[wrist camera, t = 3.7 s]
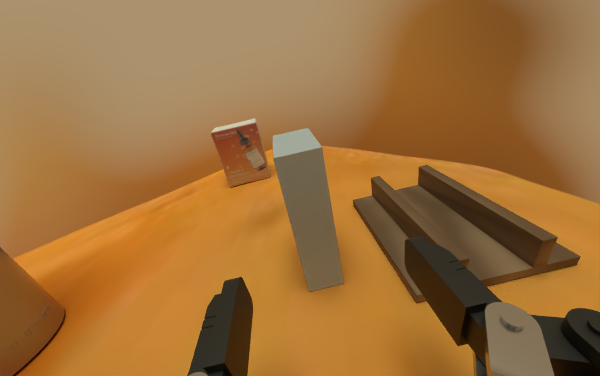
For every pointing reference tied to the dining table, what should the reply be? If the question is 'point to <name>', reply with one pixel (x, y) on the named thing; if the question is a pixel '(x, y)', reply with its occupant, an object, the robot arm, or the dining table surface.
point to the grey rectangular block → (308, 206)
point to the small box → (241, 152)
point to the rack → (458, 230)
